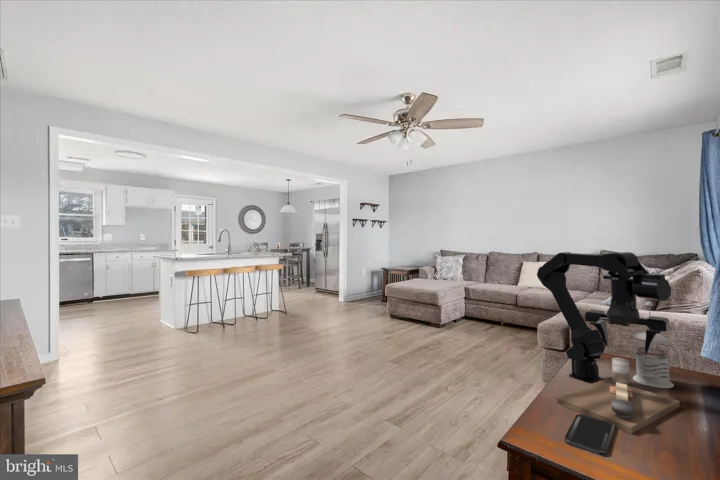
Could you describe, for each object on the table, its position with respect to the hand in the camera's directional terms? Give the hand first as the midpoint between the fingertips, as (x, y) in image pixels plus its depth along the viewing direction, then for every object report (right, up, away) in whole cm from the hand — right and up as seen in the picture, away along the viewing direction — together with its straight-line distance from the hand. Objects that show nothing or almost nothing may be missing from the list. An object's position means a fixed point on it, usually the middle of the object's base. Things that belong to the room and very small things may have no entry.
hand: (625, 349), depth 97 cm
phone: (-23, -14, -19) cm, 34 cm away
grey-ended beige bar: (-8, -10, -8) cm, 15 cm away
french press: (+16, -13, +8) cm, 22 cm away
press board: (-7, -13, -6) cm, 16 cm away
